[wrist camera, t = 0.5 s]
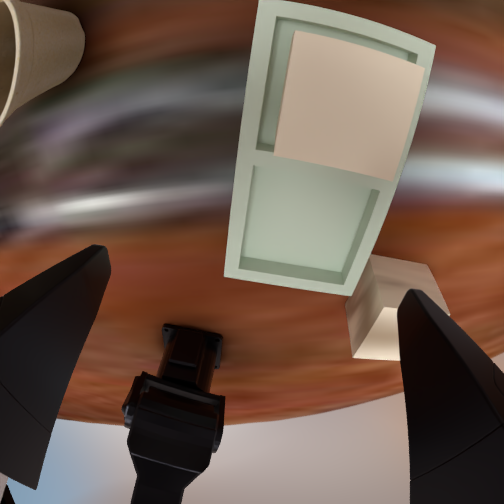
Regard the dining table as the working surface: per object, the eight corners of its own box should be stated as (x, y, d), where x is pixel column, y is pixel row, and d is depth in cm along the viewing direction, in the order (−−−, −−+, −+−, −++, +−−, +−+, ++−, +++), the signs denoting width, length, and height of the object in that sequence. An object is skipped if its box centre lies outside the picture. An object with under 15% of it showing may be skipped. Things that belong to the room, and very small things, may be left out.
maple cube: (399, 311, 27) (413, 360, 23) (344, 304, 27) (352, 357, 23) (426, 264, 24) (450, 314, 19) (367, 253, 24) (384, 306, 19)
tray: (347, 275, 25) (357, 330, 20) (228, 256, 25) (215, 310, 20) (419, 45, 14) (466, 48, 9) (262, 4, 14) (253, -17, 9)
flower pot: (106, -25, 12) (21, -41, 5) (110, 93, 18) (28, 128, 11) (15, 15, 13) (-65, 29, 6) (23, 113, 18) (-52, 153, 12)
